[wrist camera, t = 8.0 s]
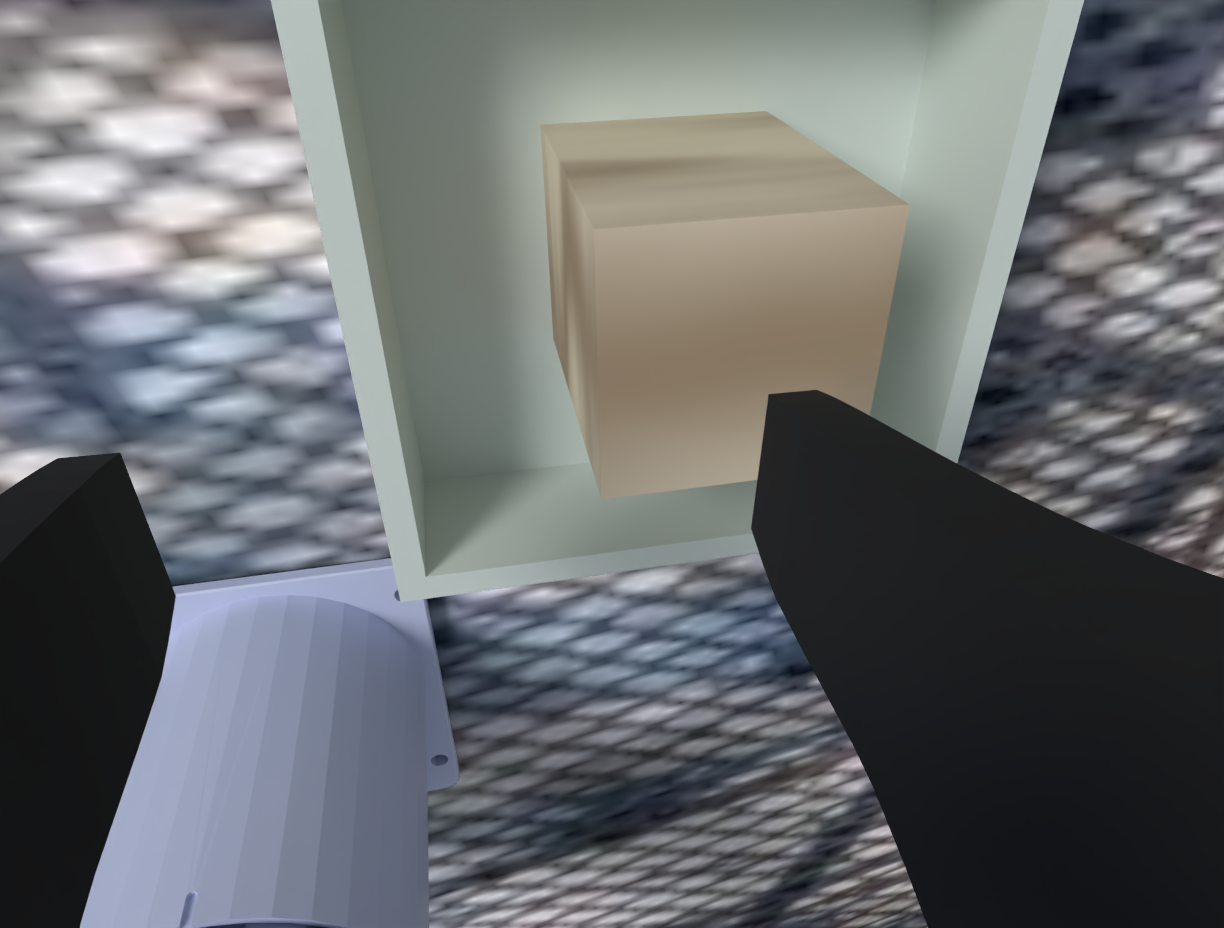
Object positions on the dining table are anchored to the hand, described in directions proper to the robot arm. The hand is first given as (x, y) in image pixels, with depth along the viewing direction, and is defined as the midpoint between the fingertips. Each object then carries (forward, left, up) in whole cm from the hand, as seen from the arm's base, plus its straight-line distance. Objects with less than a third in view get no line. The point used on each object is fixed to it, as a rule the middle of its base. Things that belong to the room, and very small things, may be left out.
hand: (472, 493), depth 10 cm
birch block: (0, -4, -9) cm, 10 cm away
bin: (0, -4, -9) cm, 10 cm away
